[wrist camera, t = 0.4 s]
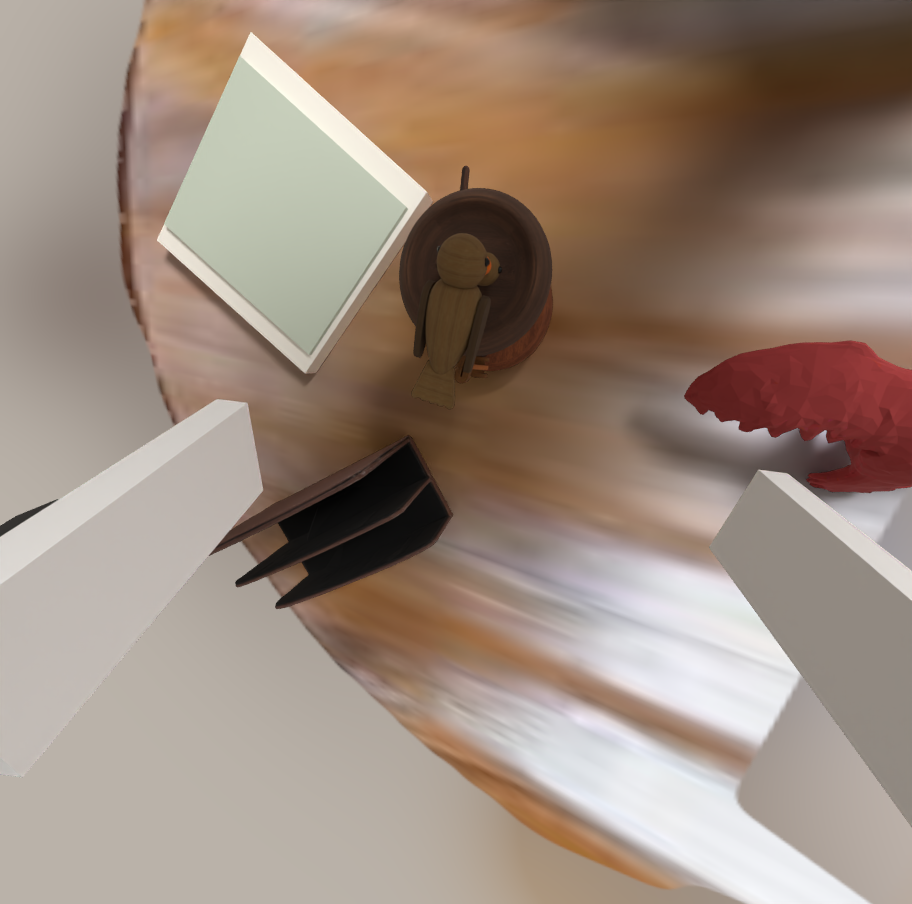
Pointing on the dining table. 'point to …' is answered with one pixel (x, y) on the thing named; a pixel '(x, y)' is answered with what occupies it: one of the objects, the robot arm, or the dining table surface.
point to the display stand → (289, 209)
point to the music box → (474, 287)
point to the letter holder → (351, 522)
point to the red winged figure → (821, 406)
